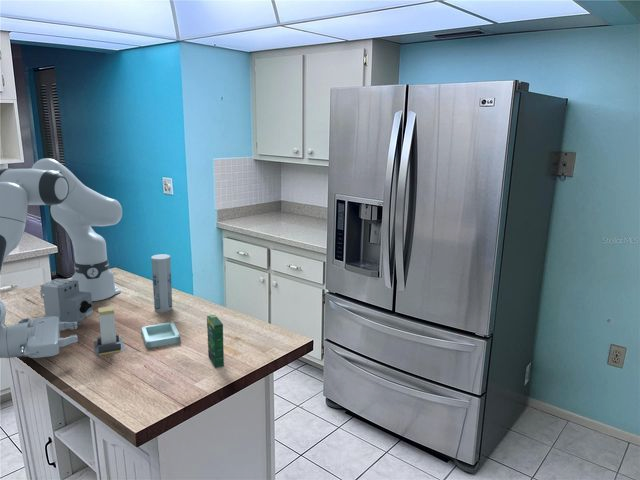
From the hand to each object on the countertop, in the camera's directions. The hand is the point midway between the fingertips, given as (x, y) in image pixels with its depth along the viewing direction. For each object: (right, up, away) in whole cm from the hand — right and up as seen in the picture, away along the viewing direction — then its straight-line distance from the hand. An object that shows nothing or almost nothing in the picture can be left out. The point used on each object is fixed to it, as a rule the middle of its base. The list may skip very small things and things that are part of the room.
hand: (77, 331), depth 137 cm
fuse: (+7, -5, +5) cm, 10 cm away
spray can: (+13, +1, +36) cm, 38 cm away
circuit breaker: (-12, -2, +19) cm, 22 cm away
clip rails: (+7, -6, +5) cm, 11 cm away
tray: (+20, -5, +12) cm, 24 cm away
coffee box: (+41, -9, -1) cm, 42 cm away
